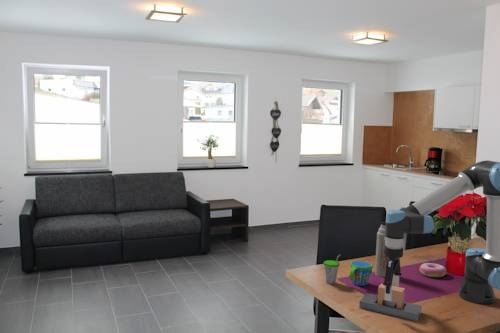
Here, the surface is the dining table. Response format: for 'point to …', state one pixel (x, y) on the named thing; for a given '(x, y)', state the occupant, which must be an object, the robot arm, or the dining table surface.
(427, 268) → the donut
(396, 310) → the rail
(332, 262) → the cup
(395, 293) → the tan bridge block
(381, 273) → the thermos bottle
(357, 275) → the snack cup
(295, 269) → the dining table surface
